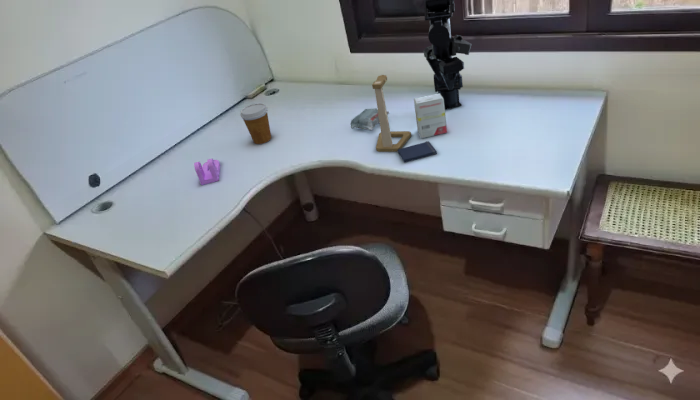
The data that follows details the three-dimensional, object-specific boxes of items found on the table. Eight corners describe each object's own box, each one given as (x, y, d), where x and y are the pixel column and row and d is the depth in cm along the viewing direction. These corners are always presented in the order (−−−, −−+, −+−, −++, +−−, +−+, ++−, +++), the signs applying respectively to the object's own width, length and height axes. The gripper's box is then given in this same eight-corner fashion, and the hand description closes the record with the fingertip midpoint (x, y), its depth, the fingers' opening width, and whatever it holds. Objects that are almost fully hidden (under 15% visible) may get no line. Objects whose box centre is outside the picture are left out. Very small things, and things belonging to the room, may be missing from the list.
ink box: (443, 126, 165) (440, 91, 159) (447, 133, 161) (444, 98, 155) (417, 132, 165) (412, 97, 159) (420, 138, 161) (416, 103, 155)
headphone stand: (412, 134, 164) (403, 68, 152) (404, 152, 156) (394, 83, 144) (380, 135, 168) (369, 70, 156) (371, 152, 160) (358, 85, 148)
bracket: (218, 180, 163) (211, 161, 159) (201, 185, 163) (193, 166, 159) (220, 161, 174) (214, 143, 170) (204, 165, 174) (197, 147, 170)
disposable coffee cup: (281, 136, 182) (272, 104, 175) (260, 148, 176) (250, 116, 170) (264, 131, 188) (255, 100, 181) (244, 143, 182) (233, 112, 176)
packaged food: (390, 119, 177) (387, 105, 174) (371, 135, 169) (369, 121, 167) (368, 116, 182) (366, 104, 179) (350, 132, 174) (347, 119, 172)
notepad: (429, 143, 158) (428, 140, 157) (437, 154, 152) (436, 151, 151) (397, 152, 157) (397, 149, 156) (404, 163, 151) (404, 159, 150)
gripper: (480, 36, 144) (482, 88, 152) (455, 21, 159) (458, 69, 168) (441, 45, 143) (446, 98, 151) (420, 29, 158) (426, 77, 167)
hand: (445, 85), depth 159 cm, fingers open, 9 cm apart
